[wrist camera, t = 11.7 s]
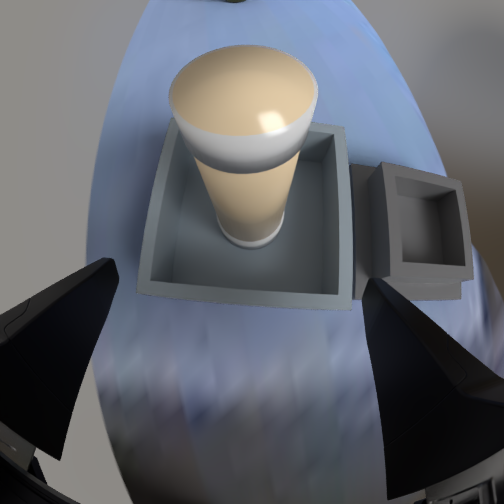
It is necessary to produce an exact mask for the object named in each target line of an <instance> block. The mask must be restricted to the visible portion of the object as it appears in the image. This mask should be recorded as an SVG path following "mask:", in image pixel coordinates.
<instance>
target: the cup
mask: <svg viewBox="0 0 504 504" xmlns="http://www.w3.org/2000/svg"><path fill="white" fill-rule="evenodd" d="M226 1H228V2H243V1H246V0H226Z"/></svg>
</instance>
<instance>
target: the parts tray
mask: <svg viewBox="0 0 504 504" xmlns="http://www.w3.org/2000/svg"><path fill="white" fill-rule="evenodd" d="M352 281H353V233H352V206H351V189H350V175H349V164H348V154H347V145H346V136H345V129H344V127H342V126H336V125H329V124H322V123H315V122H311V124H310V128H309V132H308V135H307V138H306V141H305V143H304V145H303V146H302V148H301V149H300V152H299V156H298V160H297V164H296V167H295V171H294V175H293V179H292V183H291V186H290V190H289V194H288V197H287V201H286V205H285V208H284V219H283V223H282V226H281V229H280V232H279V234H278V236H277V237H276V238H275V240H274V241H273V242H271V243H270V244H269V245H267V246H265V247H263V248H260V249H256V250H245V249H241V248H238V247H236V246H234V245H233V244H231V243H230V242H229V241H228V240H227V239H226V238H225V236H224V234H223V233H222V230H221V228H220V226H219V223H218V221H217V215H216V211H215V209H214V206H213V204H212V201H211V199H210V196H209V194H208V191H207V189H206V186H205V184H204V181H203V179H202V176H201V174H200V171H199V169H198V166H197V163H196V161H195V158H194V156H193V155H192V154H191V152H190V151H189V150H188V148H187V146H186V145H185V142H184V140H183V137H182V135H181V133H180V130H179V128H178V125H177V123H176V120H175V118H171V120H170V123H169V127H168V130H167V133H166V137H165V141H164V144H163V148H162V152H161V155H160V159H159V163H158V167H157V172H156V176H155V180H154V185H153V189H152V194H151V199H150V204H149V209H148V214H147V219H146V225H145V230H144V236H143V243H142V249H141V256H140V263H139V271H138V279H137V288H136V293H138V294H144V295H150V296H157V297H164V298H172V299H181V300H190V301H199V302H209V303H220V304H231V305H244V306H257V307H272V308H289V309H310V310H351V308H352Z"/></svg>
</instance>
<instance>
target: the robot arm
mask: <svg viewBox="0 0 504 504" xmlns="http://www.w3.org/2000/svg"><path fill="white" fill-rule="evenodd" d="M118 283H119V275H118V272H117V268H116V264H115V261H114V259H112V258H105V257H104V258H101V259H99V260H97V261H95V262H94V263H92V264H90V265H88V266H86V267H84V268H82V269H80V270H78V271H77V272H75V273H73V274H71V275H69V276H67V277H66V278H64V279H62V280H60V281H58V282H57V283H55V284H53V285H51V286H50V287H48V288H46V289H44V290H42V291H41V292H39V293H37V294H36V295H34V296H32V297H31V298H29V299H27V300H25V301H24V302H22V303H20V304H19V305H17V306H15V307H14V308H12V309H10V310H8V311H6V312H5V313H3V314H1V315H0V504H80V503H78V502H76V501H74V500H72V499H70V498H68V497H67V496H65V495H63V494H61V493H60V492H58V491H56V490H55V489H53V488H51V487H50V486H48V485H47V482H46V480H45V477H44V475H43V472H42V470H41V468H40V465H39V462H38V460H37V458H36V457H35V456H34V452H35V450H36V447H37V448H38V449H40V450H42V451H43V452H45V453H46V454H48V455H50V456H52V457H53V458H55V459H57V460H59V461H60V459H61V456H62V452H63V447H64V443H65V439H66V435H67V431H68V427H69V423H70V419H71V416H72V412H73V409H74V406H75V402H76V399H77V396H78V393H79V389H80V386H81V384H82V381H83V378H84V375H85V372H86V369H87V366H88V364H89V361H90V358H91V356H92V353H93V350H94V348H95V345H96V343H97V340H98V338H99V335H100V333H101V330H102V328H103V326H104V323H105V321H106V318H107V316H108V313H109V310H110V307H111V304H112V301H113V298H114V295H115V292H116V289H117V286H118ZM362 307H363V315H364V323H365V333H366V340H367V345H368V350H369V354H370V359H371V364H372V369H373V375H374V380H375V386H376V392H377V398H378V404H379V411H380V418H381V426H382V434H383V443H384V455H385V467H386V484H387V500H391V499H395V498H398V497H402V496H405V495H408V494H411V493H414V492H417V491H420V490H422V489H425V493H426V498H424V499H422V500H419V501H416V502H414V504H504V379H503V378H501V377H499V376H498V375H497V374H495V373H494V372H493V371H492V370H490V369H489V368H488V367H487V366H486V365H484V364H483V363H482V362H481V361H479V360H478V359H477V358H476V357H474V356H473V355H472V354H471V353H470V352H468V351H467V350H466V349H465V348H463V347H462V346H461V345H460V344H459V343H458V342H457V341H455V340H454V339H453V338H452V337H451V336H450V335H449V334H447V333H446V332H445V331H444V330H443V329H442V328H441V327H440V326H438V325H437V324H436V323H435V322H434V321H433V320H431V319H430V318H429V317H428V316H427V315H426V314H424V313H423V312H422V311H421V310H420V309H419V308H417V307H416V306H415V305H414V304H412V303H411V302H410V301H409V300H408V299H406V298H405V297H404V296H403V295H402V294H400V293H399V292H398V291H397V290H395V289H394V288H393V287H392V286H390V285H389V284H388V283H387V282H385V281H384V280H383V279H381V278H377V277H371V278H369V279H368V281H367V284H366V287H365V290H364V292H363V295H362Z"/></svg>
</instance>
